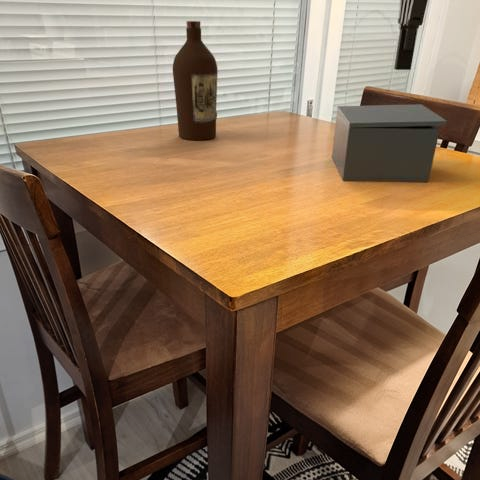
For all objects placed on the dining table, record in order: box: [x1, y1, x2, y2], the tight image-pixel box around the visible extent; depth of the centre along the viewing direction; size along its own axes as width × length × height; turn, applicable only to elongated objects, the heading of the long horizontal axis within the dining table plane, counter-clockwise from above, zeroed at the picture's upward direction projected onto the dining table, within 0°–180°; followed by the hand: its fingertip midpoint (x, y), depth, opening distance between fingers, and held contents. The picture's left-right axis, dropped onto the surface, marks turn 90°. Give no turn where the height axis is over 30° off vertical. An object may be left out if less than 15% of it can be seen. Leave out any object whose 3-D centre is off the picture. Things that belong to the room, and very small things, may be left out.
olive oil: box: [172, 20, 218, 141], centre depth 119 cm, size 11×11×25 cm
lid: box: [336, 103, 448, 128], centre depth 97 cm, size 18×17×1 cm
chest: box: [331, 110, 441, 183], centre depth 100 cm, size 17×17×10 cm
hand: (402, 69), depth 93 cm, fingers closed
